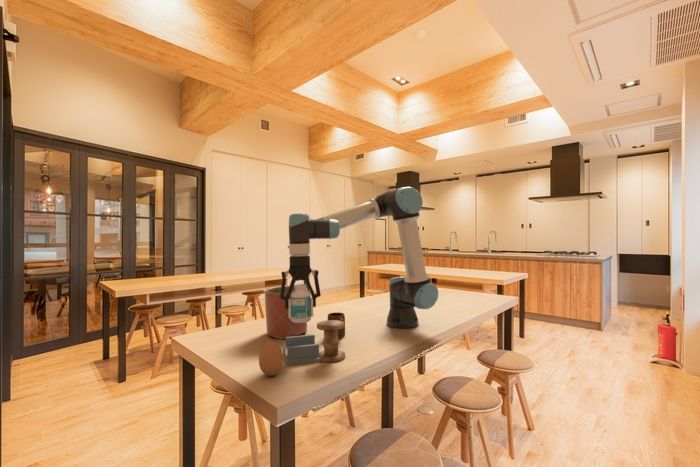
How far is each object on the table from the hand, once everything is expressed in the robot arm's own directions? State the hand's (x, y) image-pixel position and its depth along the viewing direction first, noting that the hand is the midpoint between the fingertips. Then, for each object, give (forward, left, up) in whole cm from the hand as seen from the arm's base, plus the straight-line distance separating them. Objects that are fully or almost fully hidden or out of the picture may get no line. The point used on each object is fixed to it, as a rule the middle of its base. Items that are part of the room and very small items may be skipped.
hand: (300, 316), depth 118 cm
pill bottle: (0, 0, -2) cm, 2 cm away
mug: (-17, -15, -14) cm, 27 cm away
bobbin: (-10, +6, -14) cm, 18 cm away
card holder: (0, 0, -14) cm, 14 cm away
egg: (+11, +15, -14) cm, 23 cm away
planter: (+4, -28, -14) cm, 32 cm away
